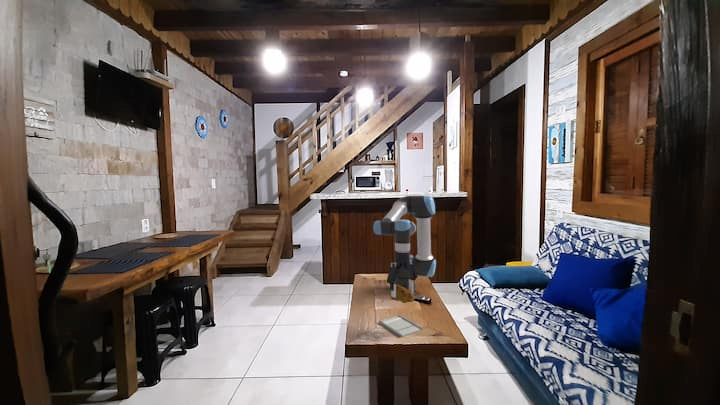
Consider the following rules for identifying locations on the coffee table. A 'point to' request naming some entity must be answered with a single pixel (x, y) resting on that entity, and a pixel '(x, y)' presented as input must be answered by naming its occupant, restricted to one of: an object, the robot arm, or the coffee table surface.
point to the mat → (400, 326)
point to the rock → (403, 295)
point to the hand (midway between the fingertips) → (402, 294)
